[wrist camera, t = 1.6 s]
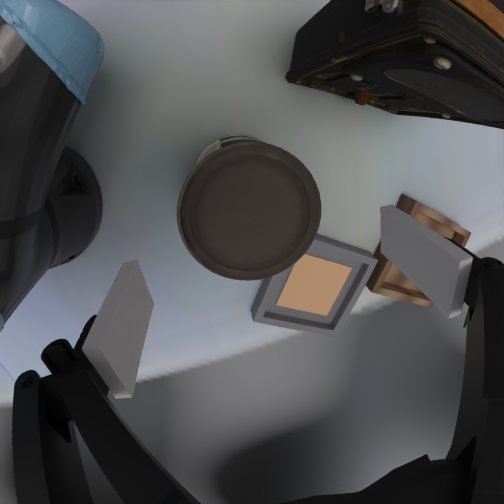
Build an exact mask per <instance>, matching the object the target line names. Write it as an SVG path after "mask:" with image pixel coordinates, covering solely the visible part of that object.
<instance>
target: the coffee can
mask: <svg viewBox="0 0 504 504" xmlns="http://www.w3.org/2000/svg"><path fill="white" fill-rule="evenodd" d="M320 219H321V200H320V194H319V191H318V188H317V185H316V182H315V181H314V179H313V176H312V175H311V173H310V172H309V170H308V169H307V168H306V167H305V165H304V164H303V163H302V162H301V161H300V160H299V159H297V158H296V157H295V156H293V155H292V154H290V153H289V152H287V151H285V150H283V149H282V148H279V147H276V146H274V145H270V144H266V143H264V142H263V141H261V140H259V139H257V138H255V137H252V136H248V135H242V134H236V135H228V136H225V137H222V138H219V139H217V140H215V141H213V142H212V143H211V144H209V145H208V146H207V147H206V148H205V149H204V150H203V151H202V153H201V154H200V156H199V157H198V159H197V161H196V163H195V166H194V168H193V170H192V171H191V173H190V174H189V175H188V177H187V179H186V180H185V182H184V184H183V187H182V189H181V192H180V195H179V199H178V206H177V222H178V228H179V232H180V235H181V237H182V240H183V242H184V244H185V246H186V248H187V249H188V251H189V252H190V254H191V255H192V256H193V257H194V258H195V259H196V260H197V261H198V262H199V263H200V264H201V265H202V266H204V267H205V268H207V269H208V270H210V271H211V272H213V273H216V274H218V275H220V276H223V277H226V278H230V279H236V280H249V281H250V280H259V279H264V278H268V277H271V276H274V275H276V274H278V273H280V272H282V271H284V270H286V269H288V268H289V267H291V266H292V265H293V264H295V263H296V262H297V261H298V260H299V259H300V258H301V257H302V256H303V255H304V254H305V253H306V252H307V250H308V249H309V247H310V246H311V244H312V242H313V240H314V238H315V236H316V234H317V231H318V228H319V224H320Z"/></svg>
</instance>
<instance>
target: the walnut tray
mask: <svg viewBox="0 0 504 504" xmlns="http://www.w3.org/2000/svg"><path fill="white" fill-rule="evenodd" d="M396 207H397V208H398V209H400V210H402V211H403V212H405V213H407V214H408V215H410V216H411V217H413V218H415V219H416V220H418V221H420V222H421V223H423V224H424V225H426V226H428V227H429V228H431V229H432V230H434V231H435V232H437V233H438V234H440V235H441V236H445V237H447V238H450V239H452V240H454V241H455V242H457V243H458V244H459V245H461V246H463V247H465V245H466V243H467V241H468V239H469V237H470V235H471V232H469V231H467V230H466V229H464V228H463V227H461V226H459V225H458V224H456V223H454V222H453V221H451V220H449V219H447V218H446V217H444V216H442V215H441V214H439V213H437V212H435V211H434V210H432V209H430V208H428V207H426V206H425V205H423V204H421V203H419V202H417V201H415V200H413V199H411V198H409V197H407V196H406V195H404V194H401V197H400V199H399V201H398V204H397V206H396ZM374 256H375V257H376V258H377V259H378V262H377V264H376V266H375V268H374V270H373V272H372V274H371V276H370V277H369V279H368V281H367V283H366V286H367V287H368V289H369V290H370V291H371V292H373V293H377V294H381V295H384V296H388V297H392V298H396V299H400V300H404V301H408V302H412V303H416V304H420V305H423V306H427V307H432V306H433V304H434V303H433V302H432V301H431V300H430V299H429V298H428V297H427V296H426V295H425V294H424V293H423V292H422V291H421V290H420V289H419V288H418V287H417V286H416V285H415V284H414V283H413V282H412V281H411V280H410V279H408V278H407V277H406V276H405V275H404V274H403V273H402V272H401V271H400V270H399V269H398V268H397V267H396V266H395V265H394V264H393V263H392V262H391V261H390V260H389V259H387V258H386V257H385V256H384V255H383V254H382V253H381V241H380V243H379V245H378V247H377V249H376V251H375V253H374Z"/></svg>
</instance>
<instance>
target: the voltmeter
mask: <svg viewBox="0 0 504 504" xmlns="http://www.w3.org/2000/svg"><path fill="white" fill-rule="evenodd" d="M286 79H288V82H290V83H294V84H299V85H303V86H307V87H311V88H315V89H319V90H322V91H326V92H330V93H333V94H337V95H340V96H343V97H347V98H350V99H353V100H355V103H357V104H360V105H365V104H368V105H371V106H374V107H377V108H380V109H383V110H385V111H388V112H391V113H393V114H397V115H407V116H419V117H429V118H438V119H446V120H453V121H460V122H467V123H473V124H479V125H484V126H490V127H495V128H500V129H504V0H331V1H330V2H329V3H327V4H326V5H325V6H324V7H323V8H322V9H321V10H320V11H319V12H317V13H316V14H315V15H314V16H313V17H312V18H311V19H310V20H309V21H308V22H307V23H306V24H305V25H304V26H302V27H301V28H300V29H299V30H298V32H297V35H296V41H295V46H294V52H293V57H292V63H291V68H290V71H289V72H287V76H286Z"/></svg>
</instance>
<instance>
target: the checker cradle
mask: <svg viewBox="0 0 504 504" xmlns="http://www.w3.org/2000/svg"><path fill="white" fill-rule="evenodd" d="M377 262H378V259H377V258H376V257H375V256H374V255H373V254H372V253H371V252H368V251H365V250H362V249H359V248H356V247H354V246H351V245H348V244H345V243H342V242H339V241H336V240H333V239H330V238H327V237H324V236H320V235H317V234H316V236H315V238H314V240H313V242H312V244H311V246H310V247H309V249H308V250H307V252H306V253H305V254H304V255H303V256H302V257H301V258H300V259H299V260H298V261H297V262H296V263H295V264H293V265H292V266H291V267H289V268H288V269H286V270H284V271H282V272H280V273H278V274H276V275H274V276H271V277H268V278H264V280H263V283H262V285H261V288H260V290H259V292H258V295H257V297H256V299H255V302H254V304H253V307H252V309H251V313H252V318H253V321H254V322H259V323H264V324H269V325H274V326H279V327H284V328H290V329H295V330H301V331H306V332H312V333H318V334H324V335H330V336H336V335H337V334H338V332H339V331H340V329H341V327H342V325H343V324H344V322H345V320H346V319H347V317H348V315H349V314H350V312H351V310H352V308H353V307H354V305H355V303H356V301H357V300H358V298H359V296H360V294H361V292H362V290H363V289H364V287H365V285H366V283H367V281H368V279H369V277H370V276H371V274H372V272H373V270H374V268H375V266H376V264H377Z"/></svg>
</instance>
